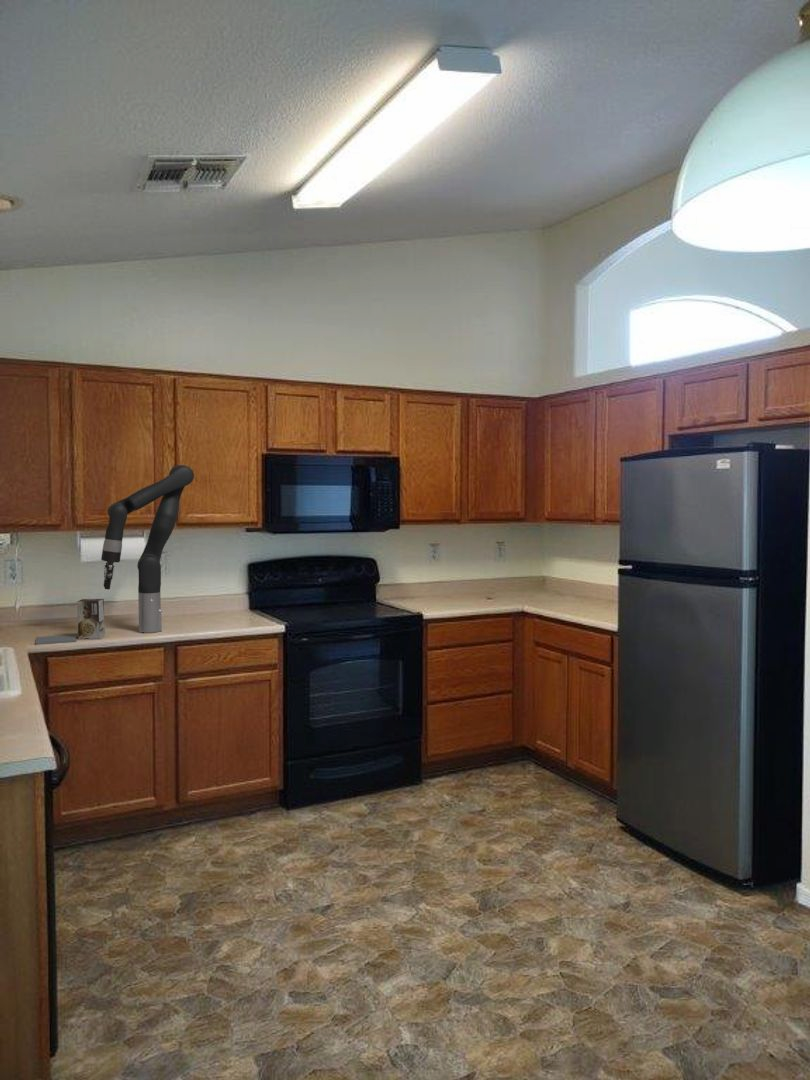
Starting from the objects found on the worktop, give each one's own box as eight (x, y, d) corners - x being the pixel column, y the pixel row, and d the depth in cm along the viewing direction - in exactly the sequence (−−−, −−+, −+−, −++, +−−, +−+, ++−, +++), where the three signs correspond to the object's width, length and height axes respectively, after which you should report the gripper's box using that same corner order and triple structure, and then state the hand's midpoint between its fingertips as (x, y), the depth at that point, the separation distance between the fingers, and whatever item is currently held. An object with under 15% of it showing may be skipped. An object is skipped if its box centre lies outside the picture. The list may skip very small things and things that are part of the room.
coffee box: (105, 636, 330) (104, 598, 329) (99, 639, 324) (99, 600, 323) (83, 636, 330) (82, 598, 329) (77, 639, 324) (76, 600, 323)
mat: (75, 636, 331) (75, 634, 331) (76, 641, 318) (76, 640, 318) (36, 638, 325) (36, 637, 325) (35, 644, 312) (35, 643, 312)
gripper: (122, 552, 327) (116, 591, 327) (120, 550, 340) (114, 587, 340) (103, 550, 324) (97, 589, 324) (101, 548, 337) (96, 585, 337)
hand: (106, 588), depth 332 cm, fingers open, 8 cm apart
